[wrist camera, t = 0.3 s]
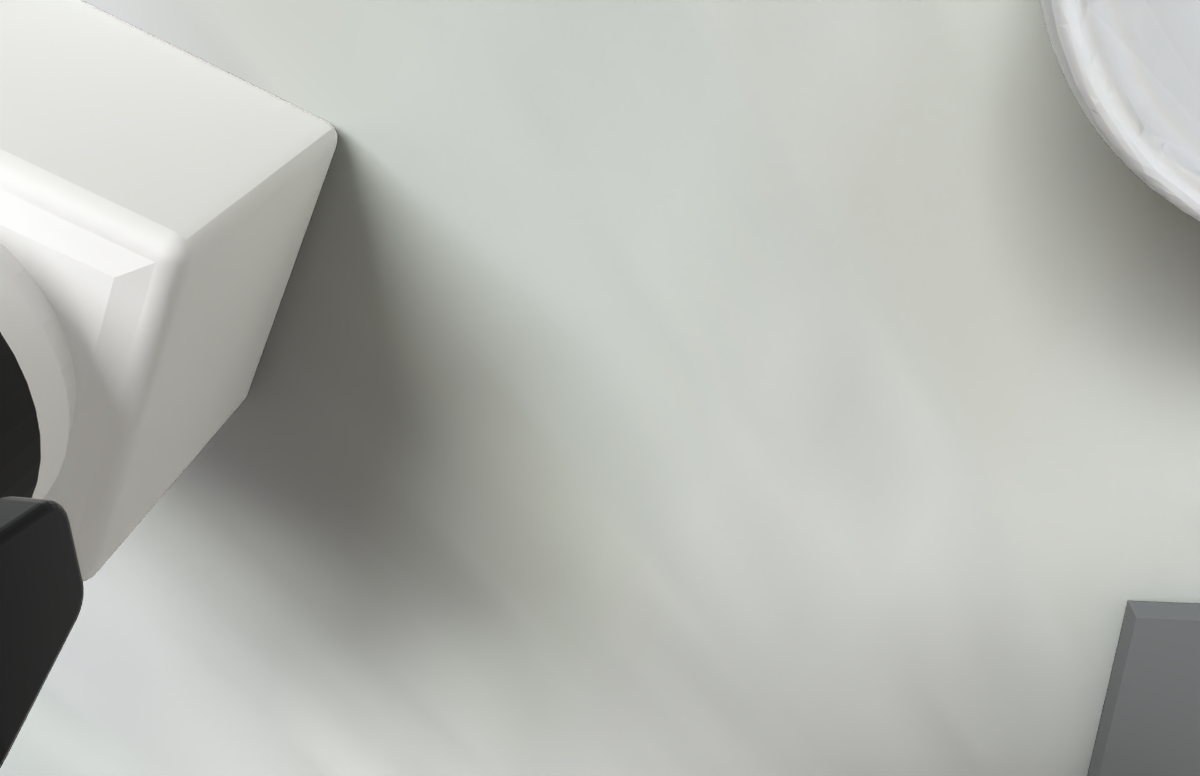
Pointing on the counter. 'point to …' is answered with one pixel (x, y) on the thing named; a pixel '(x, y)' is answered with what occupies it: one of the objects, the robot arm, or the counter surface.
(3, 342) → the medicine bottle
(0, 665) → the robot arm
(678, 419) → the counter surface
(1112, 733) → the slate mat
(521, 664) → the counter surface
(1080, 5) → the ramekin
